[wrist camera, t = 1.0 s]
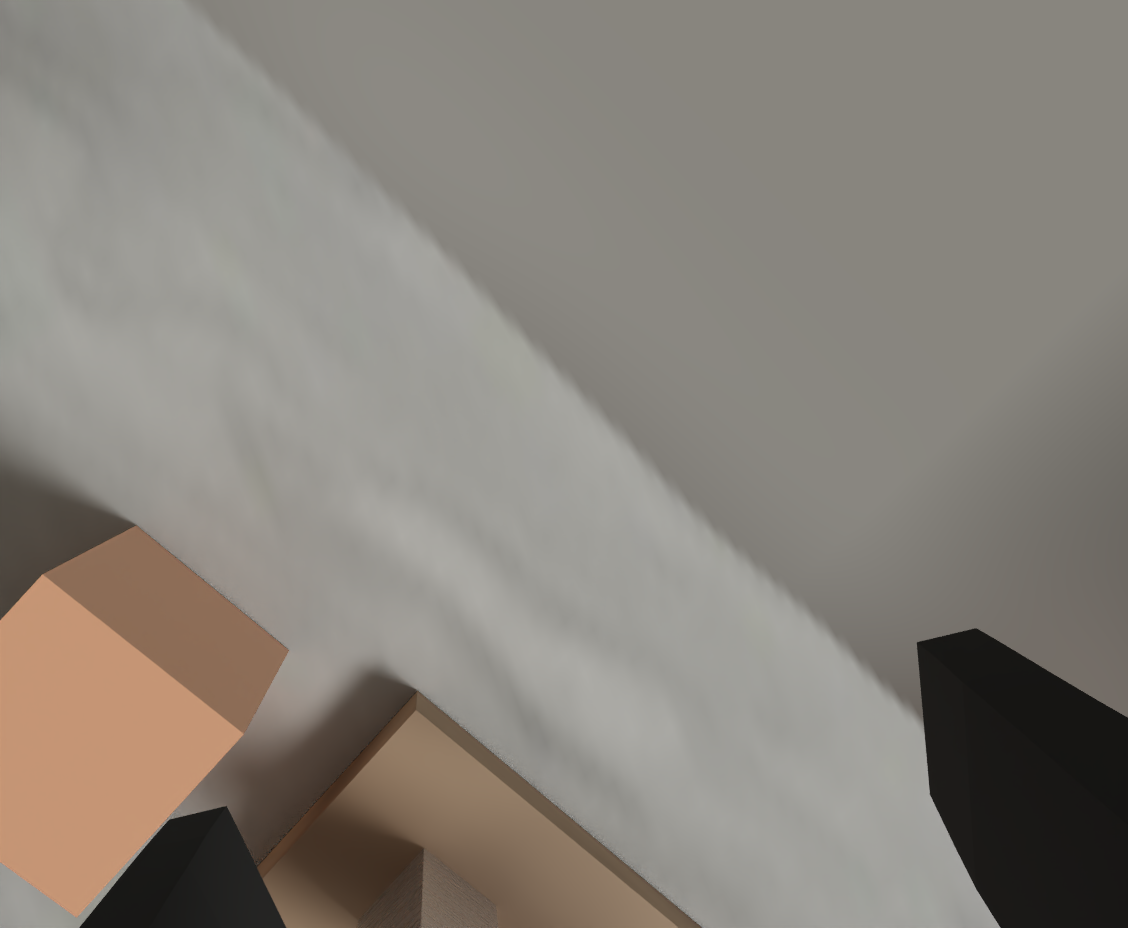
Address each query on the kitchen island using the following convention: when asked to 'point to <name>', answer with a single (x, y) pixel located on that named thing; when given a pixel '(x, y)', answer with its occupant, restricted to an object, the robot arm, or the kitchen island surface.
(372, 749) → the stand
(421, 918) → the steel post
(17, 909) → the kitchen island surface
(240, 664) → the peach cube
